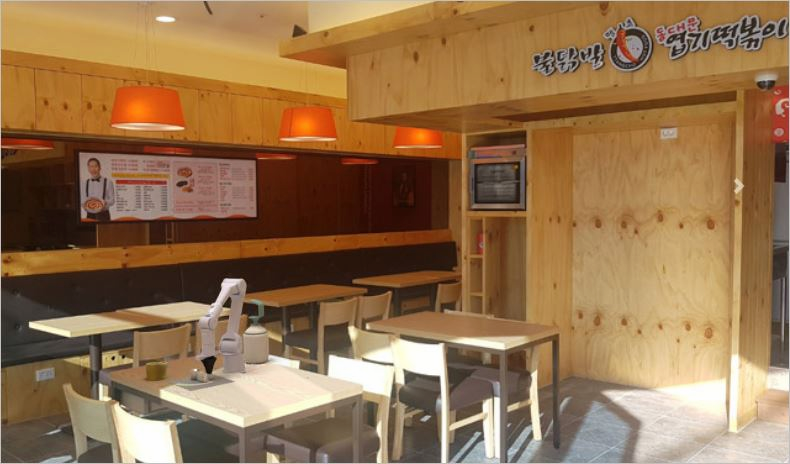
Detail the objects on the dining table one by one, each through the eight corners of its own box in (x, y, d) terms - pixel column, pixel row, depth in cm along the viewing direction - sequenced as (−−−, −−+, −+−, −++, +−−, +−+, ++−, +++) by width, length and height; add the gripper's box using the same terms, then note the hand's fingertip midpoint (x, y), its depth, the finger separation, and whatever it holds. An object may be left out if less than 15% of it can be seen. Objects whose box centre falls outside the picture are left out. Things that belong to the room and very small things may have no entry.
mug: (163, 379, 310) (158, 357, 312) (143, 386, 312) (138, 364, 314) (178, 378, 321) (173, 357, 323) (159, 384, 323) (154, 363, 326)
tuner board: (210, 375, 324) (210, 373, 324) (235, 383, 308) (235, 381, 308) (166, 384, 309) (166, 381, 309) (190, 393, 293) (190, 390, 293)
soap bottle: (251, 358, 358) (249, 297, 357) (273, 359, 355) (271, 298, 354) (239, 364, 346) (237, 301, 345) (262, 365, 343) (260, 301, 342)
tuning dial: (188, 378, 313) (188, 369, 313) (197, 377, 316) (197, 367, 316) (203, 383, 304) (203, 373, 304) (212, 381, 307) (212, 371, 307)
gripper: (212, 339, 320) (213, 369, 320) (189, 345, 307) (190, 376, 307) (224, 340, 317) (225, 370, 317) (202, 347, 304) (203, 378, 304)
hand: (209, 373), depth 312 cm, fingers closed
